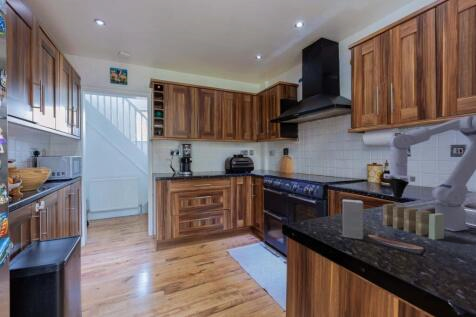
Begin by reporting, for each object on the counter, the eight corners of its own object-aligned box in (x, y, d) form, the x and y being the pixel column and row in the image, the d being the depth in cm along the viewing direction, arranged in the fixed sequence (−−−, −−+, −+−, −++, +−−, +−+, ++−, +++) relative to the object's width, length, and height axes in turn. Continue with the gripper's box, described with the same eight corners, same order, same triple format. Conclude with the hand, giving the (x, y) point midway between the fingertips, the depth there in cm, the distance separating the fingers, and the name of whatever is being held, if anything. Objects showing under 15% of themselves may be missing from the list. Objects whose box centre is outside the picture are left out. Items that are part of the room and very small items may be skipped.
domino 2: (392, 227, 85) (393, 206, 85) (401, 226, 87) (402, 205, 87) (397, 228, 83) (397, 207, 83) (406, 227, 85) (406, 206, 85)
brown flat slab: (369, 234, 76) (425, 247, 65) (369, 236, 76) (425, 250, 65) (360, 238, 71) (420, 254, 60) (360, 241, 71) (420, 257, 60)
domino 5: (444, 238, 74) (444, 214, 74) (434, 239, 72) (434, 215, 72) (438, 236, 75) (438, 213, 75) (428, 238, 74) (429, 214, 74)
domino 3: (403, 230, 81) (404, 208, 81) (412, 229, 83) (413, 208, 83) (408, 232, 80) (408, 209, 80) (417, 230, 81) (417, 209, 81)
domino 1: (382, 224, 89) (383, 204, 89) (391, 223, 90) (391, 203, 90) (386, 225, 87) (387, 205, 87) (395, 224, 89) (395, 204, 89)
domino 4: (415, 234, 77) (416, 211, 77) (425, 232, 79) (425, 210, 79) (420, 235, 76) (421, 212, 76) (430, 234, 78) (430, 211, 78)
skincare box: (362, 236, 75) (362, 200, 75) (363, 240, 71) (363, 202, 71) (342, 233, 77) (342, 198, 77) (342, 237, 73) (342, 201, 73)
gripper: (377, 163, 98) (376, 194, 98) (402, 164, 83) (402, 200, 83) (392, 164, 98) (392, 194, 98) (421, 165, 83) (420, 201, 83)
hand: (397, 197), depth 90 cm, fingers closed
